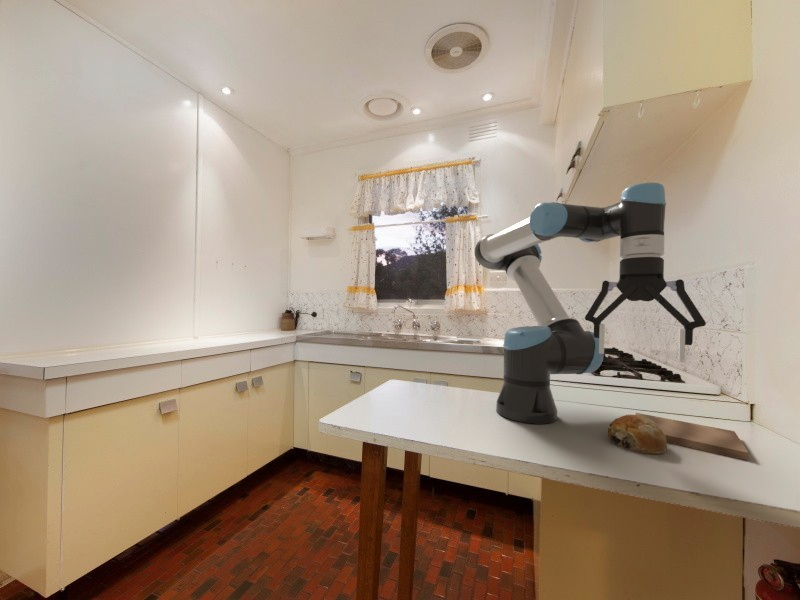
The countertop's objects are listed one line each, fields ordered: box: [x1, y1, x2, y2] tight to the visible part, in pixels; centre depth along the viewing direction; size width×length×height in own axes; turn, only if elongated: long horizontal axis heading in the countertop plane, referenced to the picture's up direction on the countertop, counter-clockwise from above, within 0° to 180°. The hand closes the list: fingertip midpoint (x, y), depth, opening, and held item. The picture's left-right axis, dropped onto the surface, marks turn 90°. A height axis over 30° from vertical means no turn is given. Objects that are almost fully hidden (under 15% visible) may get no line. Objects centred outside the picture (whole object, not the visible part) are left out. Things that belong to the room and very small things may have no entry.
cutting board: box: [634, 412, 749, 461], centre depth 72 cm, size 18×14×2 cm
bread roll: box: [607, 414, 668, 455], centre depth 67 cm, size 10×10×8 cm
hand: (638, 356), depth 67 cm, fingers open, 13 cm apart
